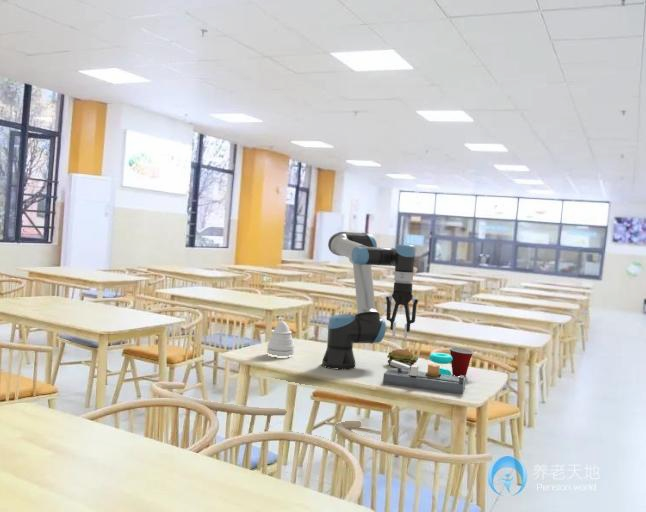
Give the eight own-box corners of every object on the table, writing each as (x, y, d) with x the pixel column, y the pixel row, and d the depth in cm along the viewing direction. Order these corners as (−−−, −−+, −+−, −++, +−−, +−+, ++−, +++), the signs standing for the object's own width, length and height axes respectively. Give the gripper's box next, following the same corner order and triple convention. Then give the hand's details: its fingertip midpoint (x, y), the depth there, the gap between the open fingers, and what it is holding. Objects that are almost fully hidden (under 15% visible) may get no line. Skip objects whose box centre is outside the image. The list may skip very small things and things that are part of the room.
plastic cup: (472, 379, 263) (474, 352, 263) (447, 376, 265) (449, 350, 265) (471, 374, 274) (473, 348, 274) (447, 371, 276) (449, 345, 276)
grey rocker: (390, 364, 253) (391, 361, 253) (391, 363, 257) (392, 359, 256) (408, 370, 251) (409, 367, 251) (409, 369, 254) (410, 365, 254)
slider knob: (410, 375, 244) (410, 366, 244) (411, 373, 248) (412, 364, 247) (416, 376, 243) (416, 367, 243) (417, 374, 247) (418, 365, 247)
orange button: (426, 377, 248) (427, 365, 248) (428, 375, 252) (428, 363, 252) (438, 378, 246) (439, 367, 246) (439, 376, 251) (440, 365, 251)
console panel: (383, 383, 246) (384, 367, 246) (389, 376, 259) (390, 362, 258) (462, 394, 237) (463, 378, 236) (465, 386, 249) (466, 371, 249)
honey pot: (263, 353, 292) (265, 316, 291) (287, 352, 297) (290, 316, 296) (272, 358, 280) (274, 320, 279) (297, 358, 285) (300, 320, 285)
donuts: (429, 355, 260) (430, 351, 270) (427, 378, 261) (428, 373, 271) (452, 357, 258) (452, 353, 268) (450, 380, 259) (451, 375, 268)
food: (422, 369, 278) (423, 352, 277) (395, 370, 273) (396, 352, 273) (408, 362, 291) (409, 346, 290) (381, 363, 286) (383, 346, 285)
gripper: (380, 280, 245) (377, 337, 246) (422, 284, 240) (418, 342, 241) (384, 279, 252) (380, 335, 253) (425, 283, 247) (421, 339, 248)
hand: (399, 338), depth 247 cm, fingers open, 4 cm apart
